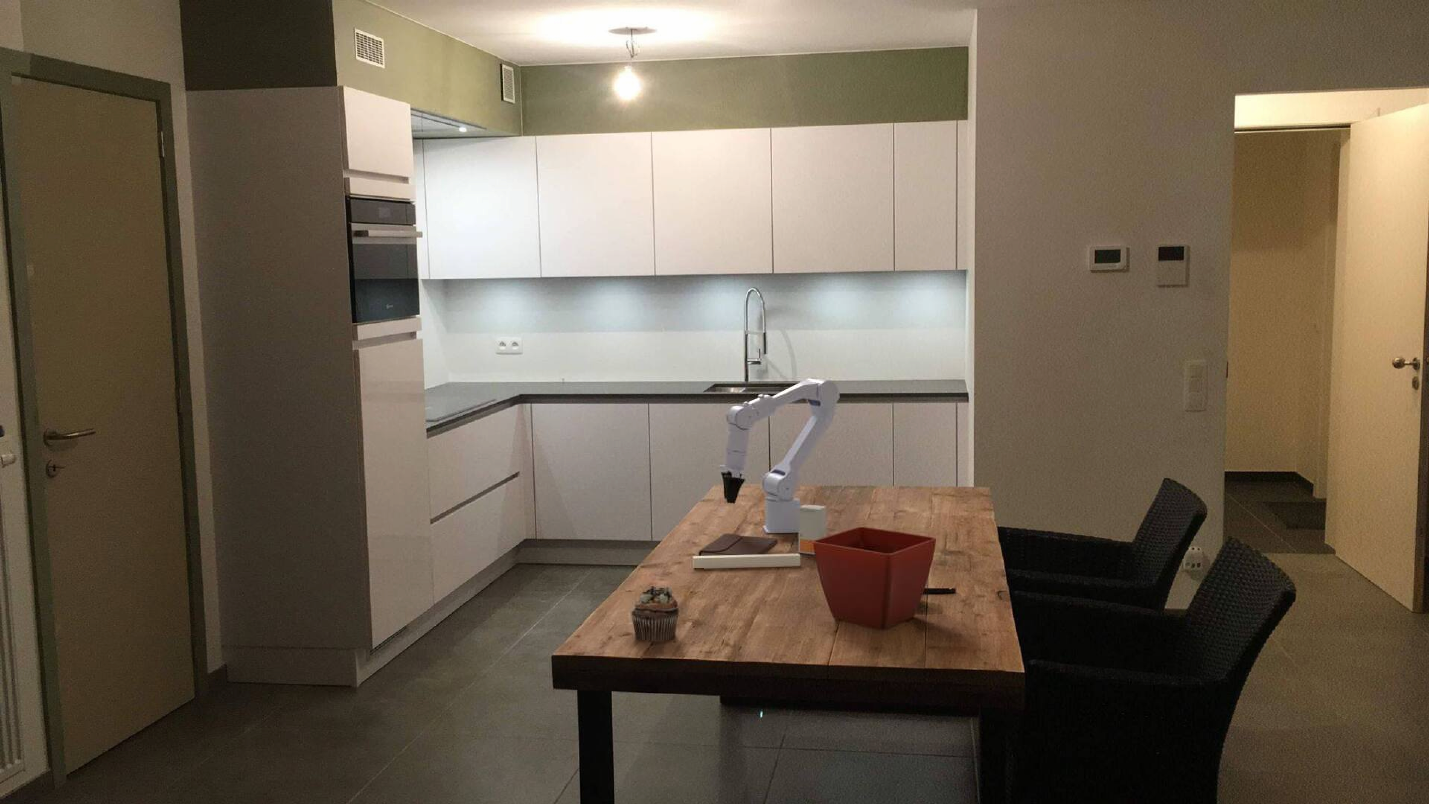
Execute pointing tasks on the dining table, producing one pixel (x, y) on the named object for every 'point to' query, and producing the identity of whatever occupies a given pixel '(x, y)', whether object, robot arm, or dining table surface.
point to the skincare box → (811, 527)
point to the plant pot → (874, 574)
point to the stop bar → (746, 561)
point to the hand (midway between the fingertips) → (729, 500)
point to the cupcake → (655, 615)
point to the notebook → (738, 545)
